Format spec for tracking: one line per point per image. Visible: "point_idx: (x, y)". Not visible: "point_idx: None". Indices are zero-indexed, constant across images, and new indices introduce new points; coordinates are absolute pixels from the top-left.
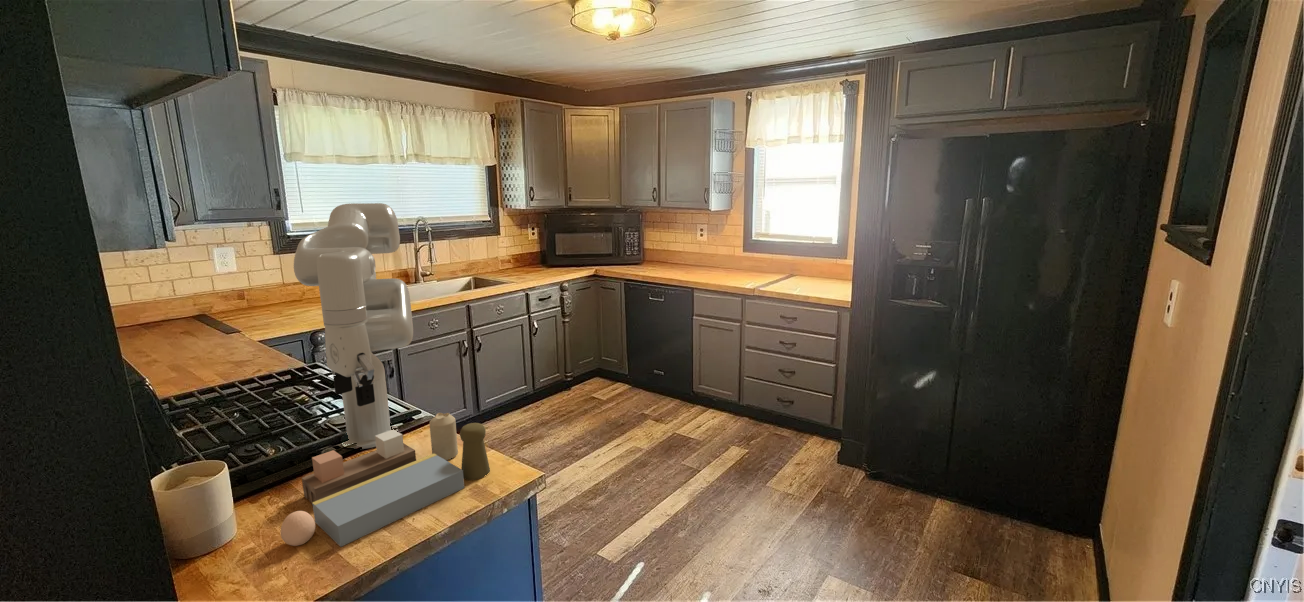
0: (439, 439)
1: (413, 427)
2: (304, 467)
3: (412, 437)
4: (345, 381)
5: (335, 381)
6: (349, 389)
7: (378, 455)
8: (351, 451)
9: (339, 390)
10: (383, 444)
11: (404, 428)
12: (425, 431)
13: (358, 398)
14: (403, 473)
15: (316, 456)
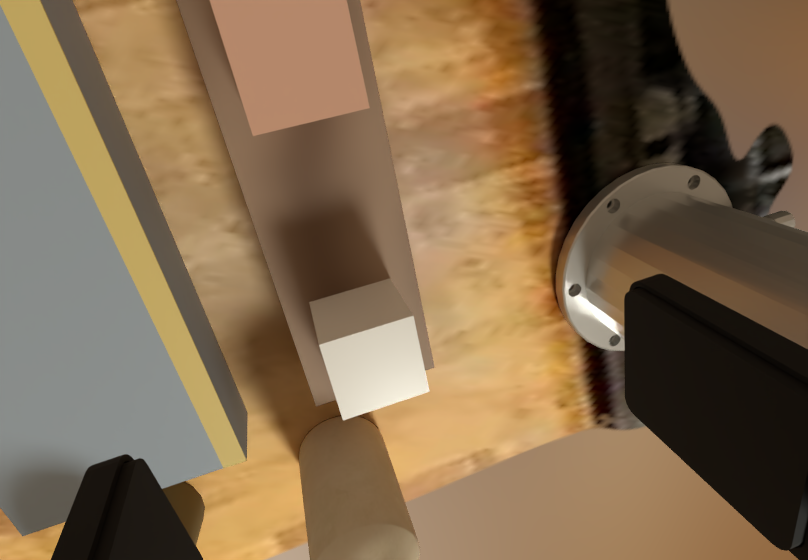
0: (313, 500)
1: (606, 387)
2: (589, 3)
3: (540, 376)
4: (717, 437)
5: (765, 360)
6: (636, 396)
7: (358, 280)
8: (588, 186)
9: (652, 324)
10: (325, 331)
11: (621, 363)
12: (552, 415)
13: (68, 551)
14: (121, 346)
15: (338, 2)
